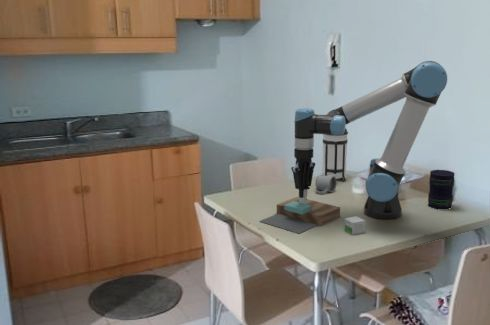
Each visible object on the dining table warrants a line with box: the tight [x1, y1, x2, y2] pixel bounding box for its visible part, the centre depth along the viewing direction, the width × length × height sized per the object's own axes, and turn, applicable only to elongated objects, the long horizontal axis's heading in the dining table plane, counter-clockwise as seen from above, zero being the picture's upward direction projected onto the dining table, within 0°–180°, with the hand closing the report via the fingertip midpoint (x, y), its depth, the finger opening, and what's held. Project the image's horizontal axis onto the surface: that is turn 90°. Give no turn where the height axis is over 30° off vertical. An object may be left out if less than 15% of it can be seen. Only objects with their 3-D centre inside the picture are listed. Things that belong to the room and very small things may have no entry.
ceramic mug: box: [315, 174, 337, 195], centre depth 241 cm, size 11×8×8 cm
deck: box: [276, 196, 341, 227], centre depth 210 cm, size 22×14×4 cm, turn 47°
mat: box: [258, 213, 319, 235], centre depth 201 cm, size 20×12×1 cm, turn 47°
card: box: [284, 201, 311, 214], centre depth 204 cm, size 9×6×2 cm, turn 46°
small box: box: [343, 215, 366, 236], centre depth 192 cm, size 6×6×5 cm
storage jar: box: [427, 169, 455, 210], centre depth 217 cm, size 10×10×15 cm
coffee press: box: [322, 127, 349, 183], centre depth 259 cm, size 17×16×30 cm
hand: (302, 204), depth 207 cm, fingers closed
